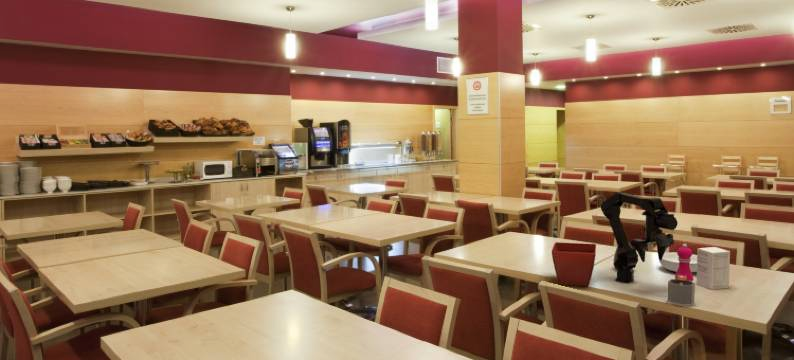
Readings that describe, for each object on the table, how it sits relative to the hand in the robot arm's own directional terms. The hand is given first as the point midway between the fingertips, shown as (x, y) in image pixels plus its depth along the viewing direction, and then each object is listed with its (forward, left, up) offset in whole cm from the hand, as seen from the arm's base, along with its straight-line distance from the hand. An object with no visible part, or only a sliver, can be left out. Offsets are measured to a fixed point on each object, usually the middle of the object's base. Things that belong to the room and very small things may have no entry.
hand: (651, 260), depth 235 cm
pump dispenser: (-21, +24, -13) cm, 35 cm away
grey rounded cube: (+15, -10, -13) cm, 22 cm away
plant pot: (-31, -11, -13) cm, 35 cm away
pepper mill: (+10, +12, -13) cm, 20 cm away
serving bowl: (+1, +40, -13) cm, 42 cm away
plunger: (+15, -10, -10) cm, 21 cm away
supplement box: (+19, +22, -13) cm, 32 cm away
